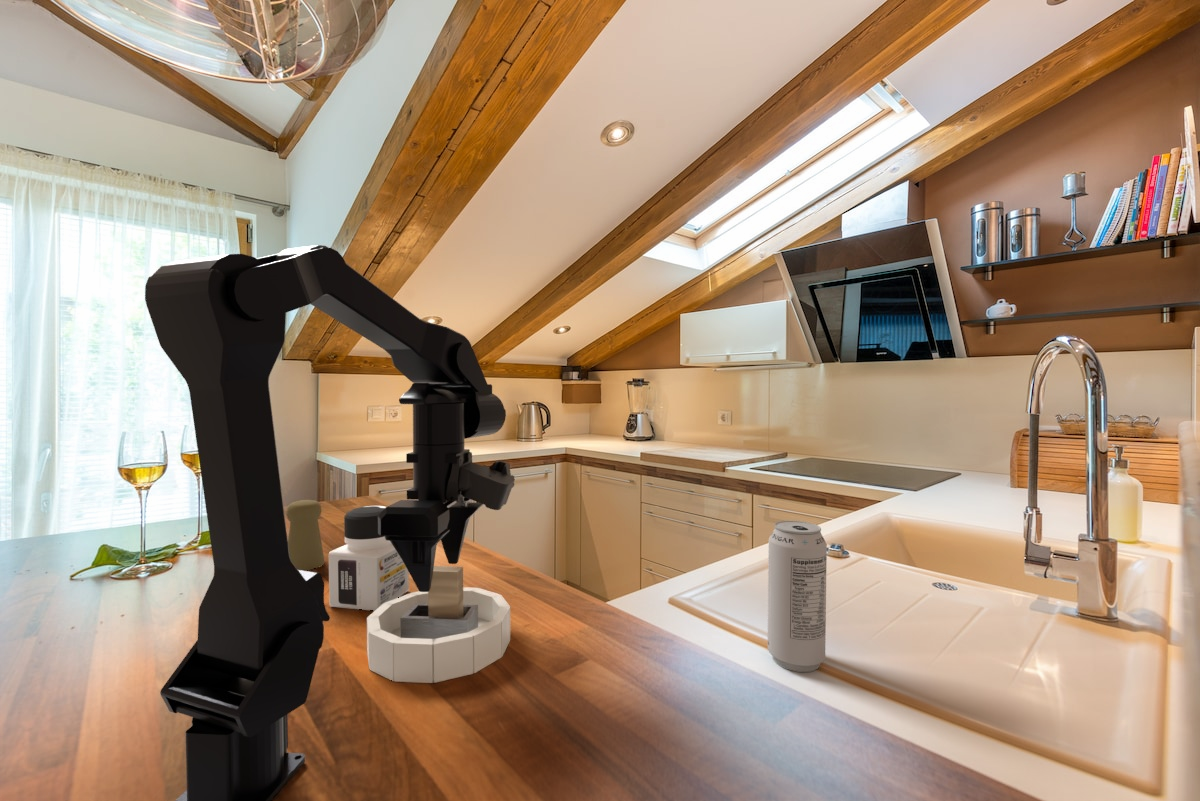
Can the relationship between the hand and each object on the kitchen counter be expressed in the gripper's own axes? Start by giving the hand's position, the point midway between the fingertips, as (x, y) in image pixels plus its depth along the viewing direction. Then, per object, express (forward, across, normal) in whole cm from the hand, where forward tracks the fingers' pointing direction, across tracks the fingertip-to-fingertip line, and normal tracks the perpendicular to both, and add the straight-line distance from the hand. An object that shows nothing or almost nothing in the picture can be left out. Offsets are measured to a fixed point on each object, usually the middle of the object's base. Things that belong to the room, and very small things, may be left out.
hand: (440, 576), depth 63 cm
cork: (+8, +26, +33) cm, 43 cm away
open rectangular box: (+8, 0, 0) cm, 8 cm away
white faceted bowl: (+8, 0, 0) cm, 8 cm away
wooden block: (+7, 0, -1) cm, 7 cm away
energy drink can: (+8, 0, -40) cm, 41 cm away
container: (+8, +13, +15) cm, 22 cm away
